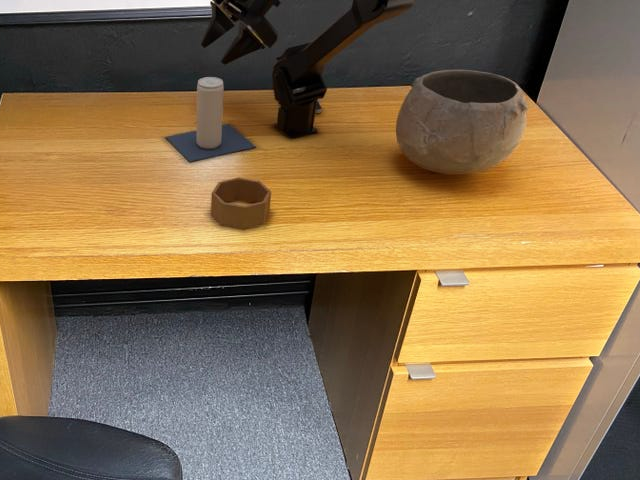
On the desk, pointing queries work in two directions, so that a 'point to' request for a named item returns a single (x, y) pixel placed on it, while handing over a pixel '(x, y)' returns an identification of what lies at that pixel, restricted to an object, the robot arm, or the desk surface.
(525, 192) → the desk surface
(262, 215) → the brown octagonal cup
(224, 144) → the cloth
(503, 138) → the clay pot
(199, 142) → the beverage can
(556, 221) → the desk surface
